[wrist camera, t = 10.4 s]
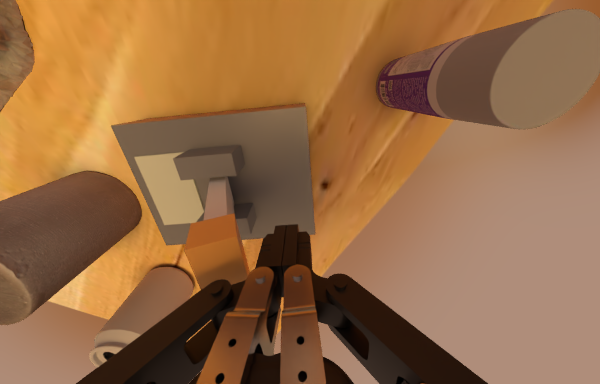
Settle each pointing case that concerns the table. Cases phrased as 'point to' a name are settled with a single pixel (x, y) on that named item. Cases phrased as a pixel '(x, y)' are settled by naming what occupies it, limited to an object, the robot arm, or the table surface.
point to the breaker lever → (217, 239)
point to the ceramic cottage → (13, 50)
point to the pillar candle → (58, 236)
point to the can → (142, 311)
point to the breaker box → (223, 167)
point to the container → (501, 73)
